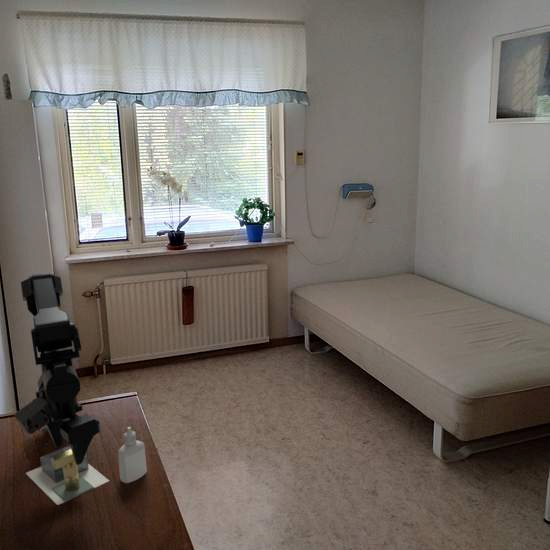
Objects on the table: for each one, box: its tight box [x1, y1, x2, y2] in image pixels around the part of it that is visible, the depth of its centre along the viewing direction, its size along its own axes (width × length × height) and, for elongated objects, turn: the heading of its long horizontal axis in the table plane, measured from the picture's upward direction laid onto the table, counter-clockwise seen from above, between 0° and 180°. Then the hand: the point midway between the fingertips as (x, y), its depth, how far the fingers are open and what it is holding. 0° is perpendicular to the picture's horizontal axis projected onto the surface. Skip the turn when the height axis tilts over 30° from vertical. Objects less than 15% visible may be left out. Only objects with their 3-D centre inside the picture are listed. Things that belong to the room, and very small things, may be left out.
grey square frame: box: [39, 445, 89, 483], centre depth 120 cm, size 7×7×3 cm
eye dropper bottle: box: [117, 426, 148, 484], centre depth 116 cm, size 4×6×12 cm
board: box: [25, 463, 110, 506], centre depth 118 cm, size 16×11×1 cm
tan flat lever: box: [51, 449, 88, 491], centre depth 112 cm, size 6×3×8 cm, turn 135°
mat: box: [52, 476, 95, 502], centre depth 113 cm, size 6×6×1 cm
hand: (68, 455), depth 111 cm, fingers open, 9 cm apart
